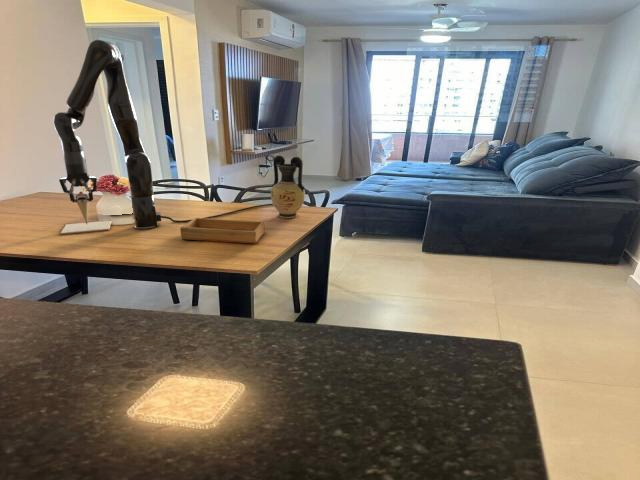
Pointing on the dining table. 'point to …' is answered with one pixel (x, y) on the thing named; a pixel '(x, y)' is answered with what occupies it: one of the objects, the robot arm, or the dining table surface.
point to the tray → (223, 230)
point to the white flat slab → (86, 227)
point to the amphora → (287, 187)
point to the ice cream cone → (83, 204)
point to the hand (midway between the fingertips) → (82, 201)
